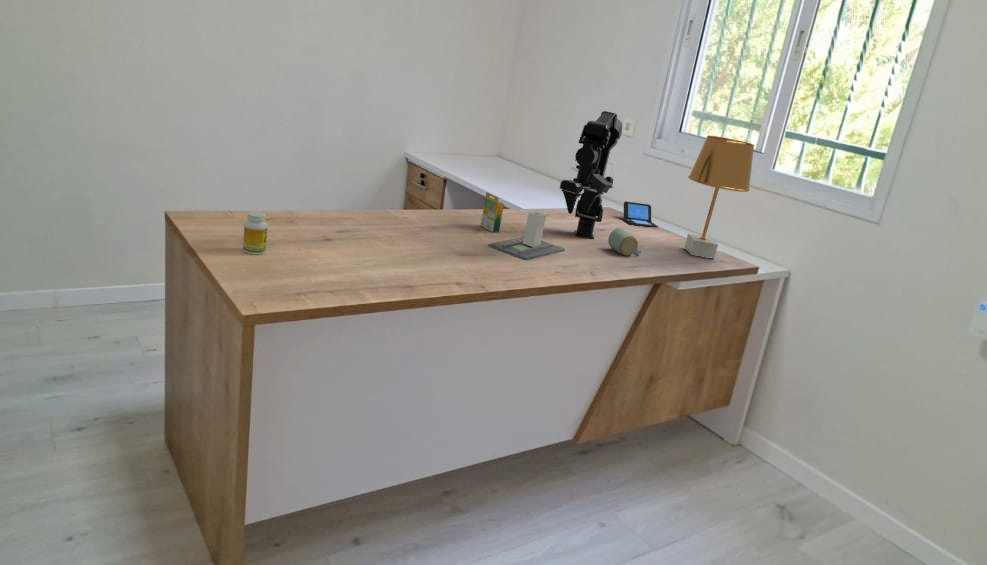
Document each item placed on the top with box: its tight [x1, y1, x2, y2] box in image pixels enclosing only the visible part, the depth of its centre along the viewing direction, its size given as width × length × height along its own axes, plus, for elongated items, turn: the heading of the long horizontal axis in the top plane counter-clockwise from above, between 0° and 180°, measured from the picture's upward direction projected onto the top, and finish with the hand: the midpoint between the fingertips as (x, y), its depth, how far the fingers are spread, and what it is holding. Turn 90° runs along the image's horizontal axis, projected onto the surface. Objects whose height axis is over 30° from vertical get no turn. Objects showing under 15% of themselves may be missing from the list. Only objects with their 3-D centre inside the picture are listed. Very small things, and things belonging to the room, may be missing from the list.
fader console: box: [487, 236, 566, 261], centre depth 214 cm, size 22×14×1 cm, turn 143°
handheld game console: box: [623, 201, 659, 229], centre depth 278 cm, size 12×11×7 cm
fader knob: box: [523, 211, 547, 247], centre depth 214 cm, size 4×4×10 cm
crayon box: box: [480, 191, 505, 233], centre depth 227 cm, size 7×3×12 cm, turn 34°
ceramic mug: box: [607, 227, 642, 257], centre depth 229 cm, size 11×8×8 cm
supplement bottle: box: [242, 211, 268, 256], centre depth 167 cm, size 5×5×10 cm
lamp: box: [684, 135, 755, 259], centre depth 240 cm, size 21×21×41 cm
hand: (578, 212), depth 219 cm, fingers open, 9 cm apart
